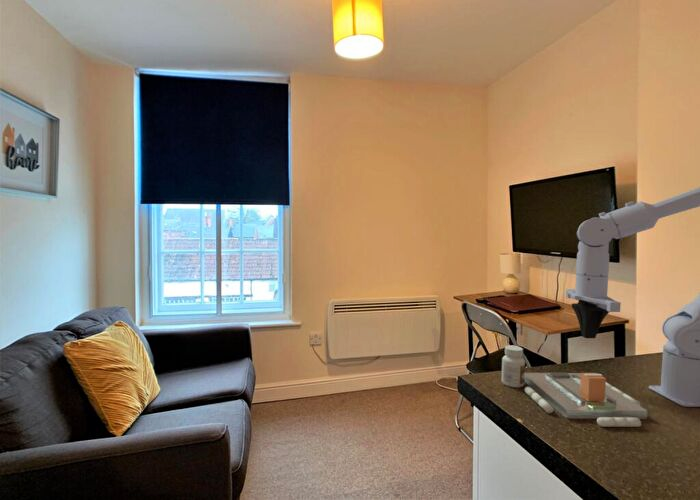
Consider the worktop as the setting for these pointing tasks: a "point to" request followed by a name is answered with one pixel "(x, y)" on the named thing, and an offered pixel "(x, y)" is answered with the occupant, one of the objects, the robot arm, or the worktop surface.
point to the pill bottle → (513, 366)
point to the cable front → (539, 400)
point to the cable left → (618, 422)
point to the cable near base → (623, 394)
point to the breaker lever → (592, 386)
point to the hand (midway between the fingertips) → (588, 337)
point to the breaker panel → (580, 397)
